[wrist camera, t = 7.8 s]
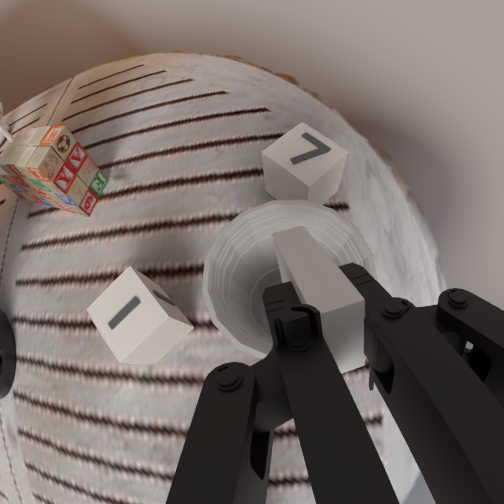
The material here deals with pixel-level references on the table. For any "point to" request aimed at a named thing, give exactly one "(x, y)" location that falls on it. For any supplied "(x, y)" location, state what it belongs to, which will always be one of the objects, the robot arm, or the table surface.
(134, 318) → the marked block 1
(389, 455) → the table surface
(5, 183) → the stack of blocks
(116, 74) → the table surface
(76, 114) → the table surface
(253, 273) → the plastic cup
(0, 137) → the flower in vase
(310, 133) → the marked block 7
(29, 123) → the table surface
